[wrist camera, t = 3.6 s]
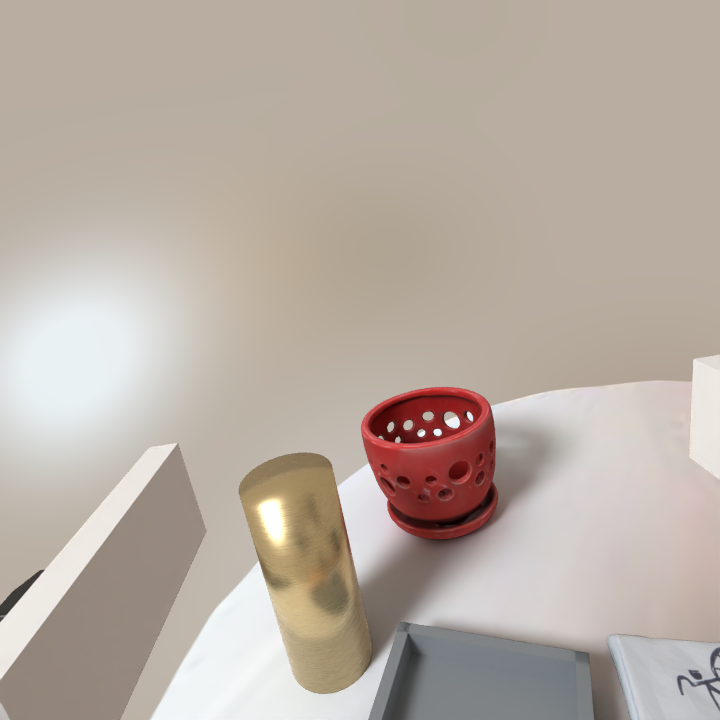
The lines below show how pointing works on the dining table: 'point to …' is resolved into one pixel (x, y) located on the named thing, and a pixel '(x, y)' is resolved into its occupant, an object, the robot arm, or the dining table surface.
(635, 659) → the bicycle print cloth
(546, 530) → the dining table surface
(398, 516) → the plant pot
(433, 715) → the slate tray
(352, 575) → the cylinder
